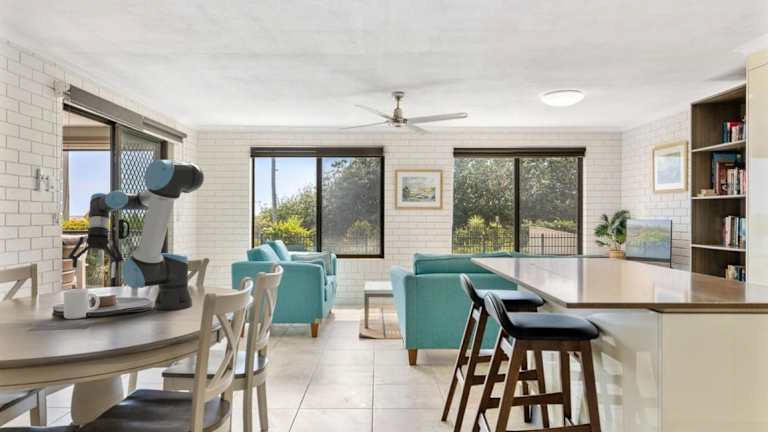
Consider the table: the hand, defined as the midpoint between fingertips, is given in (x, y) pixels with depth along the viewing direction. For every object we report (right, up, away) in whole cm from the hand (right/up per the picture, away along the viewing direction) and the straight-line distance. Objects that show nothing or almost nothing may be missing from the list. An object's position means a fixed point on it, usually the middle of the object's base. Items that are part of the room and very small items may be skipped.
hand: (95, 276), depth 201 cm
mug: (+2, -14, -12) cm, 19 cm away
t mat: (+5, -15, -26) cm, 30 cm away
